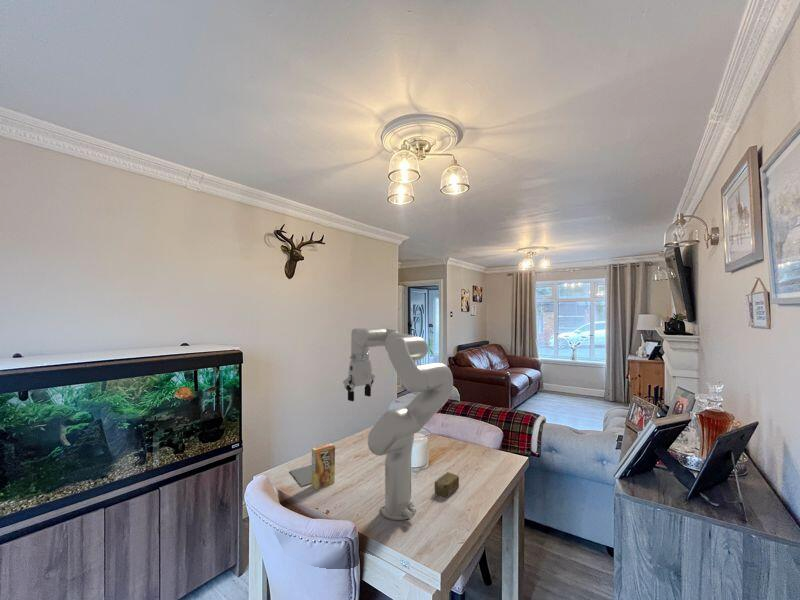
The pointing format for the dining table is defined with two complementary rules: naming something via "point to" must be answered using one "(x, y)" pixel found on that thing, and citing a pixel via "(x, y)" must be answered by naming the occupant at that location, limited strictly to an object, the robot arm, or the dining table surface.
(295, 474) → the mat
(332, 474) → the candy box
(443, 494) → the stone block
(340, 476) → the dining table surface
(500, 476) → the dining table surface
